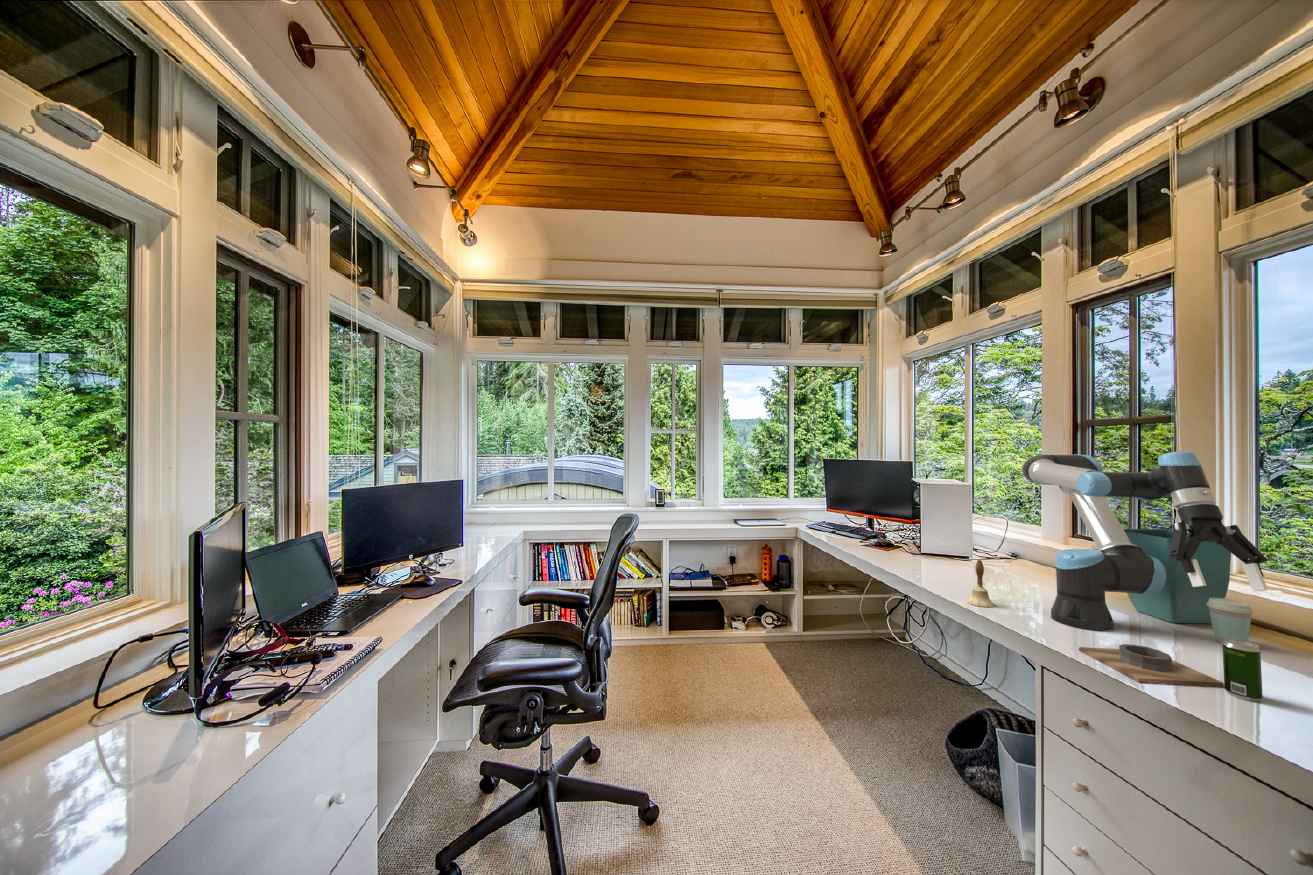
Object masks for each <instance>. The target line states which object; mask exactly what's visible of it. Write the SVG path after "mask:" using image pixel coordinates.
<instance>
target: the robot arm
mask: <svg viewBox="0 0 1313 875" xmlns="http://www.w3.org/2000/svg"><path fill="white" fill-rule="evenodd" d="M1157 465H1158V466H1159V467H1157V468H1155V469H1153V470H1151V471H1142V472H1141V471H1137V472H1136V471H1134V472H1133V471H1132V472H1131V471H1127V472H1126V471H1122V472H1121V471H1104V470H1103V467H1102V464H1101V463H1100V462H1099V460H1098V459H1096V457H1093V456H1091V455H1087V454H1080V453H1079V454H1078V453H1077V454H1076V453H1074V454H1038V455H1034V456H1032V457H1029V458H1028V459H1026V460H1025V462H1024V463H1023V465H1022V470H1021V471H1022V474H1023V476H1024V478H1025V479H1027V481H1029V482H1031V483H1034V484H1037V485H1041V486H1042V485H1043V486H1046V485H1047V486H1049V485H1050V486H1051V485H1052V486H1057V487H1058V488H1059V489H1060V491H1061V492H1062V493H1063V494H1064V495H1068V496H1069V497H1070V499H1071V501H1072V503H1073V504H1074V507H1075V509H1076V510H1077V512H1078V514H1079V516H1080V519H1082V522H1083V523H1084V525H1085V527H1086V529H1087V531H1088V532H1089V535H1090V536H1091V538H1092V540H1093V542H1094V544H1095V546H1096V548H1097V549H1093V548H1092V549H1091V548H1068V549H1061V550H1059V551H1058V552H1057V553H1056V556H1055V563H1054V565H1055V574H1056V578H1055V579H1056V596H1055V599H1054V601H1053V604H1052V606H1051V608H1050V618H1051V619H1052V620H1054V621H1056V622H1058V623H1060V624H1064V625H1067V626H1070V627H1075V628H1079V629H1085V630H1091V631H1113V630H1114V629H1115V625H1114V624H1115V623H1114V619H1113V616H1112V614H1111V612H1110V609H1109V607H1108V605H1107V603H1106V592H1107V593H1108V592H1109V593H1122V594H1123V593H1125V594H1127V593H1137V594H1154V593H1157V592H1159V591H1160V590H1161V589H1162V588H1163V587H1164V585H1165V580H1166V571H1165V568H1164V566H1163V564H1162V563H1161V561H1160V560H1158V559H1156V558H1155V557H1152V556H1146V555H1145V554H1144V552H1143V550H1142V549H1141V547H1139V546H1137V545H1134V544H1132V543H1131V542H1130V540H1129V538H1128V537H1127V535H1126V533H1125V531H1124V530H1123V529H1124V527H1122V524H1121V523H1120V521H1119V519H1118V518H1117V516H1116V515H1115V513H1114V511H1113V509H1112V508H1111V506H1110V505H1109V503H1108V502H1107V500H1106V498H1107V497H1109V498H1111V497H1114V498H1115V497H1118V498H1121V497H1123V498H1135V499H1136V500H1140V501H1141V502H1152V501H1153V502H1154V501H1156V500H1161V499H1163V498H1166V497H1168V496H1171V499H1172V501H1173V504H1174V506H1175V508H1176V509H1177V510H1176V512H1177V514H1178V517H1179V519H1180V521H1178V522H1175V523H1172V524H1171V528H1172V529H1171V530H1173V536H1172V541H1171V546H1170V552H1169V555H1170V557H1175V559H1176V560H1177V561H1181V563H1182V566H1183V568H1184V571H1185V572H1186V573H1188V576H1189V578H1190V581H1191V583H1192V586H1193V587H1200V586H1207V585H1206V583H1205V580H1204V578H1203V575H1202V573H1201V570H1200V567H1199V565H1198V562H1197V560H1196V559H1191V558H1192V557H1193V555H1194V553H1195V552H1196V550H1197V548H1198V547H1199V545H1200V543H1201V542H1204V541H1208V542H1215V543H1217V544H1220V545H1222V546H1223V547H1224V548H1226V549H1227V550H1228V551H1230V552H1231V555H1233V556H1235V557H1236V558H1237V559H1239V560H1240V561H1241V562H1242V563H1244V564H1242V565H1241V566H1242V568H1243V571H1244V573H1245V575H1246V578H1247V580H1248V584H1249V585H1250V587H1251V588H1250V589H1252V591H1253V592H1263V591H1269V589H1268V586H1267V584H1266V581H1265V579H1264V577H1265V575H1264V573H1263V570H1262V568H1261V565H1260V564H1264V563H1265V562H1267V560H1268V558H1266V556H1265V555H1264V554H1263V553H1261V551H1260V550H1259V549H1258V548H1257V547H1256V546H1255V545H1254V544H1253V543H1252V542H1251V541H1250V540H1249V539H1248V538H1247V537H1246V535H1244V534H1243V533H1242V531H1241V529H1240V528H1239V526H1238V525H1237V524H1231V525H1227V526H1226V525H1224V524H1223V522H1222V521H1223V519H1224V516H1223V514H1222V511H1221V509H1220V507H1219V505H1216V504H1217V501H1216V498H1215V496H1214V494H1213V491H1212V489H1211V486H1210V484H1209V481H1208V479H1207V476H1206V474H1205V471H1204V470H1203V467H1202V463H1200V461H1199V458H1198V457H1197V454H1195V453H1194V452H1191V451H1172V452H1168V453H1164V454H1161V455H1159V457H1158V459H1157ZM1187 532H1189V533H1190V534H1189V536H1188V537H1187V542H1186V543H1185V541H1186V536H1187ZM1223 538H1224V539H1223Z"/></svg>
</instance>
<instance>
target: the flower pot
mask: <svg viewBox="0 0 1313 875" xmlns="http://www.w3.org/2000/svg"><path fill="white" fill-rule="evenodd" d="M1123 530H1124V531H1125V533H1126V535H1127V537H1128V538H1129V540H1130V542H1131V543H1132V544H1134V545H1137V546H1139V547H1141V549H1142V550H1143V552H1144V554H1145V555H1146V556H1152V557H1155V558H1156V559H1158V560H1160V561H1161V563H1162V564H1163V566H1164V568H1165V571H1166V580H1165V585H1164V587H1163V588H1162V589H1161V590H1160V591H1159V592H1157V593H1154V594H1137V593H1126V594H1127V597H1128V598H1129V600H1130V602H1131V604H1132V606H1133V607H1134V609H1135V611H1137V612H1139V613H1142V614H1145V615H1148V616H1151V617H1154V618H1158V619H1161V620H1164V621H1167V622H1169V623H1172V624H1212V622H1211V617H1210V612H1209V607H1208V606H1207V605H1206V604H1207V602H1208V600H1209V598H1224V599H1226V596H1227V593H1228V589H1229V585H1230V579H1231V578H1230V577H1231V563H1232V561H1231V560H1232V553H1231V552H1230V551H1228V550H1227V549H1226V548H1224V547H1223V546H1222V545H1220V544H1217V543H1215V542H1208V541H1204V542H1201V543H1200V545H1199V547H1198V548H1197V550H1196V552H1195V553H1194V555H1193V557H1192V558H1191V559H1196V560H1197V562H1198V565H1199V567H1200V570H1201V573H1202V575H1203V578H1204V580H1205V583H1206V585H1207V586H1200V587H1193V586H1192V583H1191V581H1190V578H1189V576H1188V573H1186V572H1185V571H1184V568H1183V566H1182V563H1181V561H1177V560H1176V559H1175V557H1170V555H1169V552H1170V546H1171V541H1172V536H1173V529H1163V528H1123ZM1189 534H1190V533H1189V532H1188V531H1187V536H1186V541H1185V543H1186V542H1187V537H1188V536H1189ZM1223 539H1224V538H1223Z"/></svg>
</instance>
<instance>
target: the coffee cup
mask: <svg viewBox="0 0 1313 875" xmlns="http://www.w3.org/2000/svg"><path fill="white" fill-rule="evenodd" d="M1206 605H1207V606H1208V607H1209V612H1210V617H1211V622H1212V623H1211V626H1212V631H1213V634H1214V635H1213V636H1214V639H1215V640H1214V641H1215V642H1218V643H1219V642H1220V643H1219V644H1222V643H1223V642H1224V639H1225V638H1231V639H1238V640H1244V641H1248V642H1249V635H1250V631H1251V630H1250V629H1251V622H1252V614H1253V613H1254V610H1253V609H1252V606H1251V604H1249V603H1247V602H1243V601H1240V600H1235V599H1230V598H1229V599H1228V598H1225V599H1224V598H1209V600H1208V602H1207V604H1206Z"/></svg>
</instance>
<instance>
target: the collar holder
mask: <svg viewBox="0 0 1313 875" xmlns="http://www.w3.org/2000/svg"><path fill="white" fill-rule="evenodd" d="M1078 651H1079V652H1080V653H1082V654H1084V655H1086V656H1088V657H1090V658H1092V659H1094V660H1096V661H1098V662H1099V663H1101V664H1102V665H1103V664H1104V665H1105V666H1107V667H1109V668H1111V669H1112V670H1114V671H1116V672H1117V673H1120V674H1122V675H1124V676H1125V677H1128V678H1130V679H1131V680H1133V681H1135V682H1136V683H1140V682H1151V683H1150V684H1158V683H1167V684H1166V685H1176V684H1180V685H1181V686H1197V687H1213V686H1215V687H1216V688H1217V687H1218V688H1224V681H1223V682H1222V681H1220V680H1219V679H1216V678H1213V677H1211V676H1209V675H1207V674H1205V673H1202V672H1200V671H1199V670H1195V669H1194V668H1192V667H1189V666H1188V665H1184V664H1182V663H1180V662H1177V661H1175V660H1174V659H1173V658H1172V656H1171V655H1170V654H1168V653H1166V652H1165V651H1161V650H1158V649H1156V648H1152V647H1148V646H1145V645H1144V646H1143V645H1138V644H1130V643H1129V644H1128V643H1124V644H1123V643H1122V644H1119V645H1118V648H1110V647H1108V648H1104V647H1084V646H1078ZM1180 685H1179V686H1180ZM1199 685H1200V686H1199Z"/></svg>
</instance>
